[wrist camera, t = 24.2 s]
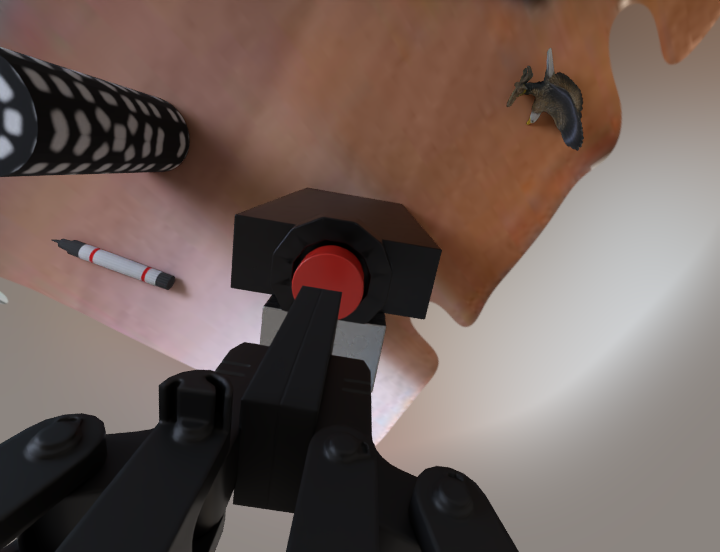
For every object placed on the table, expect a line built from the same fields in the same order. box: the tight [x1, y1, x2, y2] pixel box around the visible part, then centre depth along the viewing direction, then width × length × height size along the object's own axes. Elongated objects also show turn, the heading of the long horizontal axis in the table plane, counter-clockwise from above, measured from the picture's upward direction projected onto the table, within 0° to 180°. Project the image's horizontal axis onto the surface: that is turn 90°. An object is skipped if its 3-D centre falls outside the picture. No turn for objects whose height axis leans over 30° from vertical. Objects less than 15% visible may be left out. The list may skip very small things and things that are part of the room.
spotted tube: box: [0, 47, 189, 177], centre depth 32 cm, size 8×8×20 cm
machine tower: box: [231, 188, 442, 324], centre depth 31 cm, size 12×6×26 cm, turn 80°
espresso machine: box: [260, 295, 386, 392], centre depth 34 cm, size 12×15×26 cm
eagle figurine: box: [507, 48, 584, 151], centre depth 37 cm, size 8×7×9 cm
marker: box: [52, 239, 175, 290], centre depth 45 cm, size 15×2×2 cm, turn 68°
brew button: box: [292, 245, 364, 320], centre depth 18 cm, size 4×4×2 cm
